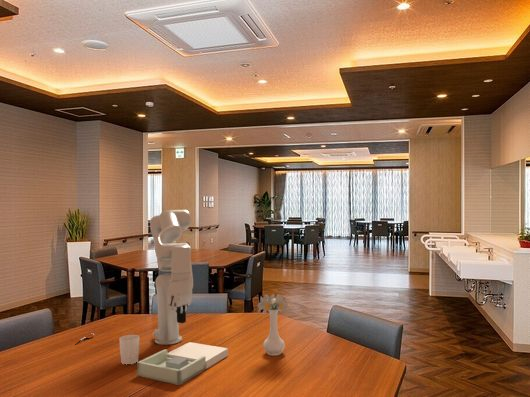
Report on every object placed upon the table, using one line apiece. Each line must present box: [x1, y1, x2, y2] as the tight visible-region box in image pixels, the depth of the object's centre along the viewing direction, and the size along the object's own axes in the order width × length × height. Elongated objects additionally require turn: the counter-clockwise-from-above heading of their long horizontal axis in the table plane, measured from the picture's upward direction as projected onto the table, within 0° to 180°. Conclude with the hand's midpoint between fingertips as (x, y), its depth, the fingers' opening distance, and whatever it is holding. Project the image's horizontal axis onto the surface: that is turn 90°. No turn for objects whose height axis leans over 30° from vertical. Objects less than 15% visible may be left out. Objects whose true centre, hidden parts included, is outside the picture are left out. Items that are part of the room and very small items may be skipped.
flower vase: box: [257, 293, 288, 357], centre depth 183 cm, size 13×18×25 cm
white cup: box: [118, 334, 140, 366], centre depth 174 cm, size 8×8×10 cm
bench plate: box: [167, 341, 229, 370], centre depth 177 cm, size 20×16×3 cm
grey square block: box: [166, 357, 188, 369], centre depth 164 cm, size 6×6×3 cm
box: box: [136, 349, 207, 386], centre depth 163 cm, size 20×16×5 cm
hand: (181, 322), depth 169 cm, fingers closed
